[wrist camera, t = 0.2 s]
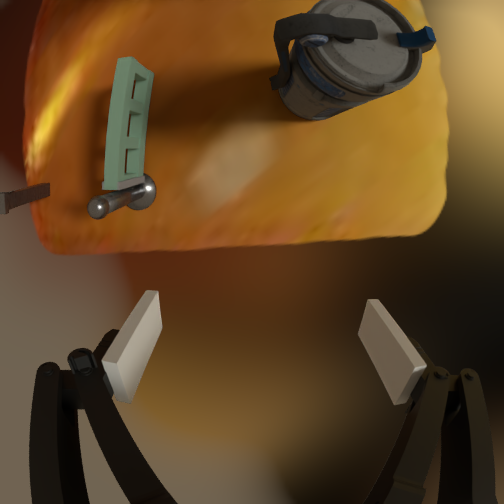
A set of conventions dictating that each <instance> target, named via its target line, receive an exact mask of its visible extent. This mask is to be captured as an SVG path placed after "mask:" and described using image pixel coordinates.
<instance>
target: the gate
mask: <svg viewBox="0 0 504 504" xmlns="http://www.w3.org/2000/svg"><path fill="white" fill-rule="evenodd" d="M153 78H154V73H153V72H151V71H150V70H147V69H146V68H145V67H144V66H142V65H141V64H140V63H138V61H137V60H136V59H135V58H133V57H125V58H118V62H117V67H116V72H115V77H114V83H113V89H112V95H111V102H110V109H109V117H108V126H107V137H106V150H105V169H104V182H102V190H121V189H124V188H127V187H131V186H134V185H137V184H140V183H144V182H145V176H143V168H144V153H145V141H146V130H147V121H148V113H149V105H150V97H151V91H152V84H153ZM134 79H135V80H136V85H135V91H134V98H133V99H131V97H132V90H133V84H134ZM129 114H131V121H130V131H129V137H127V129H128V120H129ZM126 149H128V155H127V172H126V173H124V170H125V153H126Z"/></svg>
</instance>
